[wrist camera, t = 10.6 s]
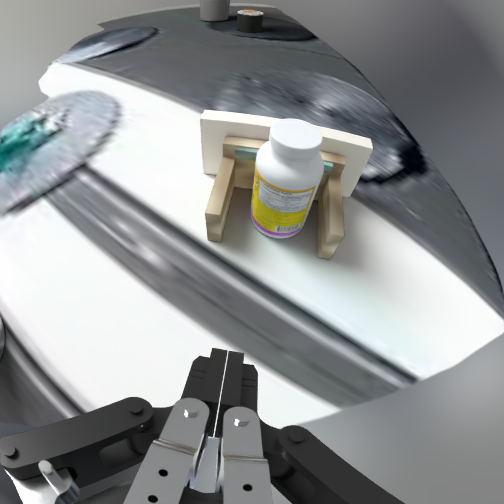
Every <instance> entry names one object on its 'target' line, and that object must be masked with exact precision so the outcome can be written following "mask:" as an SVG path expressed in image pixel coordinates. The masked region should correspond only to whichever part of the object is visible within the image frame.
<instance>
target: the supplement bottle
mask: <svg viewBox="0 0 504 504" xmlns="http://www.w3.org/2000/svg"><path fill="white" fill-rule="evenodd" d="M321 144H322V134H321V132H320V131H319V130H318V129H317V128H316V127H315V126H314V125H312V124H310V123H308V122H305V121H302V120H298V119H282V120H279V121H277V122H275V123H274V124H273V125H272V126H271V129H270V135H269V141H267V142H266V143H264V144H263V145H262V146H261V148H260V149H259V151H258V153H257V156H256V163H255V173H254V183H253V192H252V201H251V219H252V222H253V224H254V226H255V227H256V228H257V229H258V230H259V231H260V232H261V233H263V234H265V235H267V236H269V237H273V238H279V239H282V238H288V237H292V236H294V235H295V234H297V233H298V232H299V231H300V230H301V229H302V228H303V226H304V224H305V221H306V219H307V216H308V213H309V211H310V208H311V205H312V202H313V200H314V197H315V194H316V191H317V189H318V186H319V183H320V180H321V178H322V175H323V172H324V162H323V159H322V156H321V155H320V153H319V151H320V148H321Z"/></svg>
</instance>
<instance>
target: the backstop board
mask: <svg viewBox="0 0 504 504" xmlns="http://www.w3.org/2000/svg"><path fill="white" fill-rule="evenodd" d="M279 120H282V119H277V118H271V117H264V116H257V115H250V114H242V113H233V112H223V111H212V110H204V112H203V114H202V116H201V118H200V126H201V143H202V159H203V173H204V174H212V175H217V173H218V169H219V166H220V163H221V160H222V157H223V141H224V139H225V136H232V137H240V138H248V139H255V140H262V141H269V135H270V129H271V126H272V125H273V124H274V123H275V122H277V121H279ZM314 126H315V125H314ZM315 127H316V128H317V129H318V130H319V131H320V132H321V134H322V144H321V148H320V151H323V152H327V153H332V154H336V155H341V156H344V157H345V167H344V169H343V172H342V174H341V176H340V177H341V189H342V196H343V197H348V198H349V197H350V195H351V193H352V191H353V189H354V187H355V185H356V183H357V181H358V179H359V177H360V175H361V173H362V171H363V169H364V167H365V165H366V163H367V161H368V159H369V157H370V155H371V152H372V150H373V147H372V143H371V139H369V138H365V137H361V136H358V135H354V134H350V133H346V132H342V131H338V130H333V129H329V128H325V127H320V126H315Z"/></svg>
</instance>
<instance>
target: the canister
mask: <svg viewBox="0 0 504 504" xmlns="http://www.w3.org/2000/svg"><path fill="white" fill-rule="evenodd" d="M229 5H230V0H200V15H201V20H202V21H211V22H214V21H224V20H227V19H228V17H229Z"/></svg>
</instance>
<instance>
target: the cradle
mask: <svg viewBox="0 0 504 504" xmlns="http://www.w3.org/2000/svg"><path fill="white" fill-rule="evenodd" d="M266 142H267V141H262V140H255V139H248V138H240V137H232V136H225V139H224V141H223V157H222V160H221V163H220V166H219V169H218V173H217V176H216V179H215V182H214V185H213V188H212V192H211V195H210V198H209V202H208V205H207V208H206V212H205V217H206V227H207V237H208V240H212V241H218V242H221V239H222V235H223V231H224V227H225V222H226V218H227V214H228V210H229V206H230V202H231V198H232V194H233V190H234V187H240V188H246V189H253V183H254V173H255V163H256V156H257V153H258V151H259V149H260V148H261V146H262V145H263V144H264V143H266ZM319 153H320V155H321V156H322V159H323V162H324V172H323V175H322V178H321V180H320V183H319V186H318V189H317V191H316V194H315V197H314V200H317V201H318V251H317V257H318V258H324V259H330V258H331V257H332V255H333V254H334V252H335V250H336V249H337V247H338V246H339V244H340V242H341V241H342V239H343V237H344V217H343V202H342V189H341V177H340V176H341V174H342V172H343V169H344V167H345V157H344V156H341V155H336V154H332V153H327V152H323V151H319Z"/></svg>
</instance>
